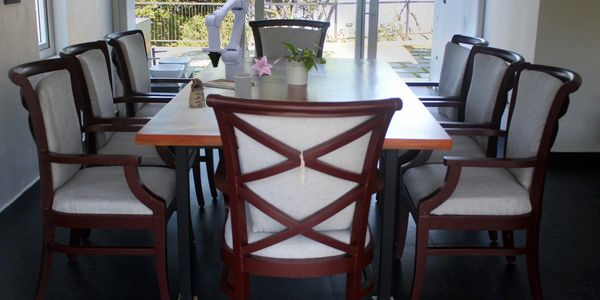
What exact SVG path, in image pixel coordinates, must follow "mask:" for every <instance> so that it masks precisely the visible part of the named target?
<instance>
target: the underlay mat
mask: <svg viewBox="0 0 600 300" xmlns="http://www.w3.org/2000/svg"><path fill="white" fill-rule="evenodd" d="M255 86H256V85H255V84H254V85H253V86H252V87H255ZM203 88H214V89H220V90H221V89H222V90H230V91H235V89H229V88H220V87H211V86H203Z"/></svg>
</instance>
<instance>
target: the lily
mask: <svg viewBox="0 0 600 300" xmlns="http://www.w3.org/2000/svg"><path fill="white" fill-rule="evenodd" d="M253 60H254V61H255V64H253V65H251V67H250V68H251V69H254V70H257V71H258V75H259V77H261V76H262V75H263V74H264V73H265V74H267V75H269V76H272V71H271V69H270V68H272V67H273V66H274V65H272V64H270V63H268V58H267V56H266V55H264V56H262V58H261V59H260V60H259V59H258V58H254V59H253Z"/></svg>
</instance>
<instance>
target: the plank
mask: <svg viewBox="0 0 600 300" xmlns="http://www.w3.org/2000/svg"><path fill="white" fill-rule="evenodd" d="M202 86H211V87H210V88H212V87H220V88H219V89H221V88H229V89H228V90H230V89H235V85H234V83H228V82H219V81H212V80H208V81H207V80H206V81H202Z"/></svg>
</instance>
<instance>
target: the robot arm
mask: <svg viewBox="0 0 600 300" xmlns="http://www.w3.org/2000/svg"><path fill="white" fill-rule="evenodd" d="M249 8H250V0H226V2H225V3H224V4H223V6H218V7H217V8H216V10H215V11H214V12H212V13H211V14H208V15H206V17H205V21H204V24H205V26H206V30H207V34H208V35H207V37H208V38H207V39H208V47H202V48H201V50H202V53H207V56H208V57H209V59H210V62H211V65H212V67H213V68H214V69H215V68H218V67H219V62H220V59H221V61H222V63H223V64H224V73H225V78H224V79H228V80H234V76H235V75H236V73H239V72H244V67H243V66H244V65H243V64H242V60H243V49H242V48H241V46H240V42H241V38H242V33H243V28H244V25H245V20H246V15H247V14H248V12H249ZM230 11H231V13H232V14H234V15H235V16H234V19H233V25H232V29H231V33H230V38H229V40H228V41H229V42H228V44H227V45H225V46H224V47H223V48H221V36H220V35H221V33H220V31H221V30H220V29H221V28H220V27H222V23H223V22H224V20H225V18H226V17H227V16H228V13H229V12H230Z"/></svg>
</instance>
